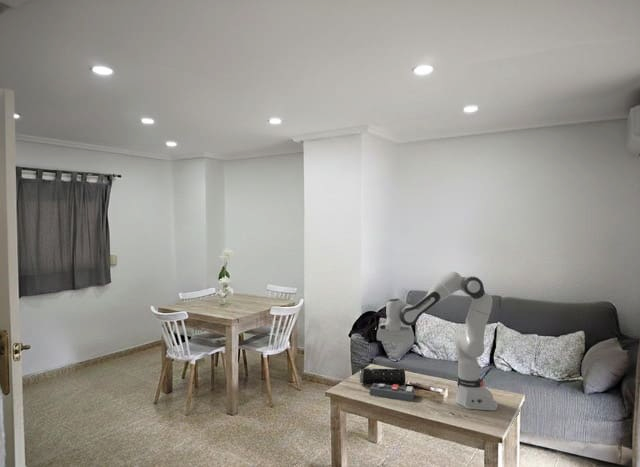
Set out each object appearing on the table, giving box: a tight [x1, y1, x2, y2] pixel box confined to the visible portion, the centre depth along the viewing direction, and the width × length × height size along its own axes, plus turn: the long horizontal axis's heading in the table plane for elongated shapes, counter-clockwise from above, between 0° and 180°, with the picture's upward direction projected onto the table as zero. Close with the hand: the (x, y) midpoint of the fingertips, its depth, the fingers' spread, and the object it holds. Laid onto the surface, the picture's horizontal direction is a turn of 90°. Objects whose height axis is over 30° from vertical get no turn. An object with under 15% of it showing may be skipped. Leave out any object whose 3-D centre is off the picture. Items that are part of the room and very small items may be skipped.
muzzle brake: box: [358, 367, 406, 386], centre depth 262 cm, size 10×28×10 cm, turn 89°
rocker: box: [406, 385, 414, 392], centre depth 242 cm, size 3×5×1 cm, turn 158°
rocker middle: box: [391, 384, 400, 390], centre depth 245 cm, size 3×5×1 cm, turn 158°
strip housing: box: [369, 383, 416, 402], centre depth 245 cm, size 25×9×4 cm, turn 68°
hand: (393, 349), depth 247 cm, fingers closed
